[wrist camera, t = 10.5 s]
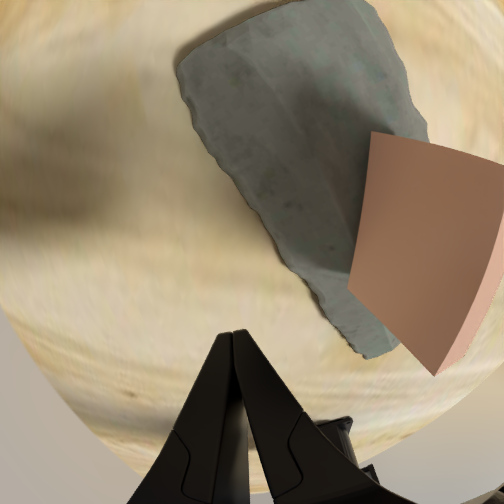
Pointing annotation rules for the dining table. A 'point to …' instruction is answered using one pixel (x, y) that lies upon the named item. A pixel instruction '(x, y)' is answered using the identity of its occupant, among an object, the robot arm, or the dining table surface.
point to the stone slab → (305, 135)
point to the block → (429, 245)
